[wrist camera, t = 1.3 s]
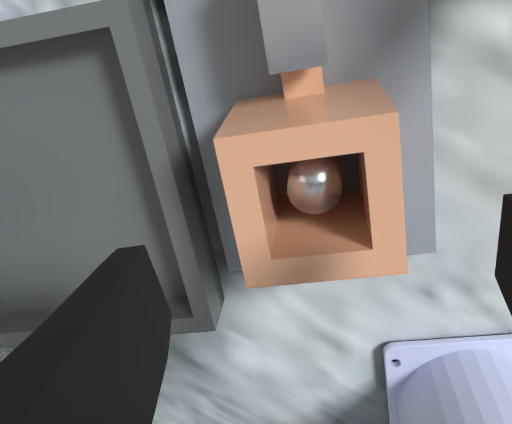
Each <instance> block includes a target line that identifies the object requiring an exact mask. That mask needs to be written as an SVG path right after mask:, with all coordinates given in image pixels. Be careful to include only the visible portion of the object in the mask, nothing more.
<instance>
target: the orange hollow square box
mask: <svg viewBox="0 0 512 424" xmlns="http://www.w3.org/2000/svg"><path fill="white" fill-rule="evenodd" d="M281 78H282V85H283V91H284V92H283V93H277V94H270V95H264V96H258V97H252V98H246V99H239V100H237V101H236V102H235V104H234V106H233V107H232V109H231V111H230V112H229V114H228V115H227V117H226V119H225V120H224V122H223V124H222V125H221V127H220V129H219V130H218V132H217V133H216V135H215V137H214V138H213V142H214V146H215V151H216V155H217V159H218V164H219V168H220V173H221V177H222V182H223V186H224V190H225V195H226V199H227V204H228V208H229V213H230V217H231V221H232V226H233V230H234V235H235V239H236V244H237V248H238V253H239V257H240V261H241V266H242V270H243V275H244V279H245V284H246V288H257V287H268V286H279V285H290V284H301V283H312V282H323V281H333V280H344V279H355V278H366V277H377V276H388V275H399V274H408V267H407V249H406V232H405V214H404V197H403V179H402V161H401V144H400V126H399V111H398V110H397V108H396V107H395V105H394V104H393V102H392V101H391V99H390V98H389V96H388V95H387V93H386V91H385V90H384V88H383V87H382V85H381V84H380V82H379V81H378V79H377V78H370V79H364V80H357V81H351V82H345V83H339V84H333V85H326V86H324V83H323V74H322V66H319V67H313V68H307V69H301V70H295V71H290V72H284V73H281ZM352 153H356V163H357V173H358V184H359V187H353V188H345V189H342V194H341V197H340V200H339V201H338V203H337V204H336V205H335V206H334V207H333V208H332V209H331V210H329V211H327V212H325V213H321V214H307V213H304V212H302V211H300V210H298V209H297V208H296V207H295V206H294V205H293V204H292V203H291V201H290V200H289V197H288V196H280V192H279V186H278V180H277V175H276V169H275V164H279V163H286V162H293V161H301V160H308V159H316V158H323V157H330V156H338V155H345V154H352Z"/></svg>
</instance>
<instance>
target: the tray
mask: <svg viewBox="0 0 512 424" xmlns="http://www.w3.org/2000/svg"><path fill="white" fill-rule="evenodd" d="M139 245H145V247H146V249H147V252H148V255H149V257H150V260H151V262H152V265H153V267H154V270H155V272H156V275H157V277H158V280H159V282H160V285H161V288H162V290H163V293H164V295H165V298H166V300H167V303H168V305H169V308H170V310H171V313H172V319H171V331H170V334H182V333H195V332H208V331H216V327H217V323H218V320H219V316H220V312H221V309H222V305H223V301H224V295H223V291H222V287H221V283H220V279H219V275H218V271H217V267H216V263H215V259H214V255H213V251H212V247H211V243H210V239H209V235H208V231H207V227H206V223H205V219H204V215H203V211H202V207H201V203H200V199H199V195H198V191H197V187H196V183H195V179H194V175H193V171H192V167H191V163H190V160H189V156H188V152H187V148H186V144H185V140H184V136H183V132H182V128H181V124H180V120H179V116H178V112H177V108H176V104H175V100H174V96H173V92H172V88H171V84H170V80H169V76H168V72H167V68H166V64H165V60H164V56H163V52H162V48H161V44H160V40H159V36H158V32H157V28H156V24H155V20H154V16H153V12H152V8H151V4H150V0H102V1H97V2H92V3H87V4H83V5H78V6H73V7H68V8H63V9H58V10H54V11H49V12H44V13H39V14H34V15H30V16H25V17H20V18H15V19H10V20H5V21H1V22H0V348H1V347H13V346H19V345H20V344H21V343H22V342H23V341H24V340H25V339H26V338H27V337H28V336H29V335H30V334H31V333H33V332H34V331H35V330H36V329H37V328H38V327H39V326H40V325H41V324H42V323H43V322H44V321H45V320H46V319H47V318H48V317H49V316H50V315H51V314H52V313H53V312H54V311H55V310H56V309H57V308H58V307H59V306H60V305H61V304H62V303H63V302H64V301H65V300H66V299H67V298H68V297H69V296H70V295H71V294H72V293H73V292H74V291H75V290H76V289H77V288H78V287H79V286H80V285H81V284H82V283H83V282H84V281H85V280H86V279H87V278H88V277H89V276H90V275H91V273H92V272H93V271H94V270H95V269H96V268H97V267H98V266H99V265H100V264H101V263H102V262H103V261H104V260H105V259H106V258H107V257H108V256H109V255H111V254H112V253H113V252H114V251H115V250H116V249H117V248H124V247H131V246H139Z"/></svg>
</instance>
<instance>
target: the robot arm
mask: <svg viewBox="0 0 512 424" xmlns="http://www.w3.org/2000/svg"><path fill="white" fill-rule="evenodd" d="M495 277H496V280H497V282H498V285H499V287H500V290H501V292H502V295H503V297H504V299H505V302H506V304H507V306H508V308H509V311H510V313H511V315H512V194H505V195H503V204H502V213H501V222H500V231H499V240H498V250H497V259H496V268H495ZM171 319H172V313H171V310H170V308H169V305H168V303H167V300H166V298H165V295H164V293H163V290H162V288H161V285H160V282H159V280H158V277H157V275H156V272H155V270H154V267H153V265H152V262H151V260H150V257H149V255H148V252H147V249H146V247H145V245H139V246H131V247H124V248H117V249H116V250H115V251H114V252H113V253H112V254H111V255H109V256H108V257H107V258H106V259H105V260H104V261H103V262H102V263H101V264H100V265H99V266H98V267H97V268H96V269H95V270H94V271H93V272H92V273H91V275H90V276H89V277H88V278H87V279H86V280H85V281H84V282H83V283H82V284H81V285H80V286H79V287H78V288H77V289H76V290H75V291H74V292H73V293H72V294H71V295H70V296H69V297H68V298H67V299H66V300H65V301H64V302H63V303H62V304H61V305H60V306H59V307H58V308H57V309H56V310H55V311H54V312H53V313H52V314H51V315H50V316H49V317H48V318H47V319H46V320H45V321H44V322H43V323H42V324H41V325H40V326H39V327H38V328H37V329H36V330H35V331H34V332H33V333H31V334H30V335H29V336H28V337H27V338H26V339H25V340H24V341H23V342H22V343H21V344H20V345H19V346H18V347H17V348H16V349H14V350H13V351H12V352H11V353H10V354H9V355H8V356H7V357H6V358H5V359H4V360H3V361H1V362H0V424H152V421H153V417H154V413H155V409H156V405H157V401H158V396H159V392H160V388H161V384H162V380H163V375H164V371H165V367H166V362H167V358H168V349H169V341H170V331H171ZM383 356H384V367H385V378H386V389H387V400H388V412H389V423H390V424H512V334H506V335H491V336H477V337H462V338H448V339H433V340H419V341H404V342H392V343H388V344H387V345H385V347H384V349H383ZM394 359H398V361H396V362H392V360H394Z"/></svg>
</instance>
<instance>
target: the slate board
mask: <svg viewBox="0 0 512 424" xmlns="http://www.w3.org/2000/svg"><path fill="white" fill-rule="evenodd" d="M164 4H165V8H166V12H167V16H168V20H169V24H170V29H171V33H172V37H173V41H174V45H175V49H176V54H177V58H178V62H179V66H180V70H181V74H182V79H183V83H184V87H185V91H186V95H187V99H188V104H189V108H190V112H191V116H192V120H193V124H194V129H195V133H196V137H197V141H198V145H199V149H200V154H201V158H202V162H203V166H204V170H205V174H206V179H207V183H208V187H209V191H210V195H211V199H212V204H213V208H214V212H215V216H216V220H217V224H218V229H219V233H220V237H221V241H222V245H223V249H224V254H225V258H226V262H227V266H228V270H229V272H237V271H243V270H242V266H241V261H240V257H239V253H238V248H237V244H236V239H235V235H234V230H233V226H232V221H231V217H230V213H229V208H228V204H227V199H226V195H225V190H224V186H223V182H222V177H221V173H220V168H219V164H218V159H217V155H216V151H215V146H214V142H213V138H214V137H215V135H216V133H217V132H218V130H219V129H220V127H221V125H222V124H223V122H224V120H225V119H226V117H227V115H228V114H229V112H230V111H231V109H232V107H233V106H234V104H235V102H236V101H237V100H239V99H246V98H252V97H258V96H264V95H270V94H277V93H283V92H284V91H283V85H282V78H281V73H278V74H272V75H269V69H268V63H267V57H266V51H265V45H264V39H263V33H262V27H261V21H260V14H259V8H258V2H257V0H164ZM321 8H322V17H323V26H324V35H325V43H326V52H327V61H328V65H325V66H322V74H323V83H324V86H326V85H333V84H339V83H345V82H351V81H357V80H364V79H370V78H377V79H378V81H379V82H380V84H381V85H382V87H383V88H384V90H385V91H386V93H387V95H388V96H389V98H390V99H391V101H392V102H393V104H394V105H395V107H396V108H397V110H398V111H399V126H400V144H401V161H402V179H403V197H404V214H405V232H406V249H407V255H410V254H420V253H430V252H436V237H435V200H434V164H433V127H432V91H431V54H430V18H429V0H321ZM338 162H339V169H340V176H341V183H342V189H345V188H353V187H359V184H358V173H357V163H356V153H352V154H345V155H338ZM289 167H290V162H286V163H279V164H275V169H276V175H277V180H278V186H279V192H280V196H288V194H287V184H288V176H289Z"/></svg>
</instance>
